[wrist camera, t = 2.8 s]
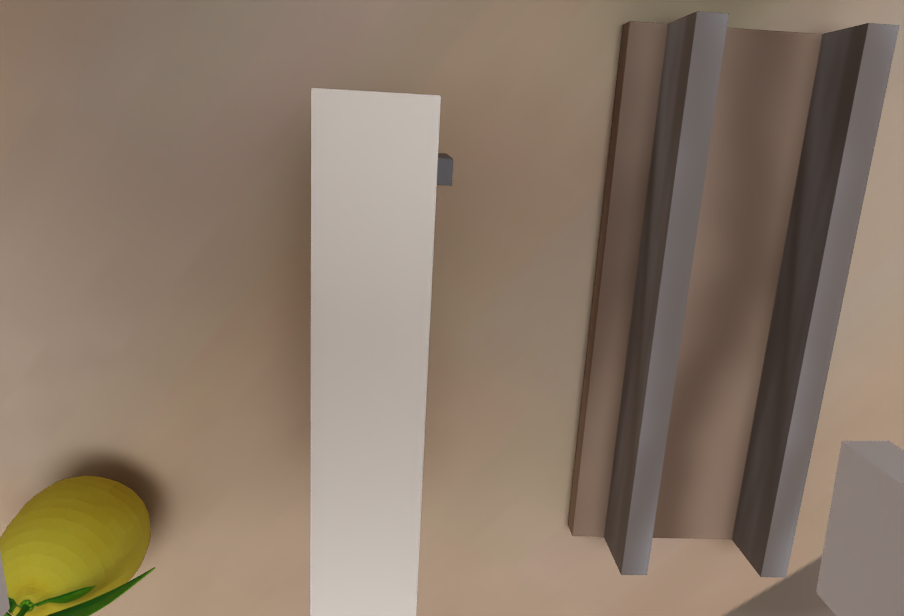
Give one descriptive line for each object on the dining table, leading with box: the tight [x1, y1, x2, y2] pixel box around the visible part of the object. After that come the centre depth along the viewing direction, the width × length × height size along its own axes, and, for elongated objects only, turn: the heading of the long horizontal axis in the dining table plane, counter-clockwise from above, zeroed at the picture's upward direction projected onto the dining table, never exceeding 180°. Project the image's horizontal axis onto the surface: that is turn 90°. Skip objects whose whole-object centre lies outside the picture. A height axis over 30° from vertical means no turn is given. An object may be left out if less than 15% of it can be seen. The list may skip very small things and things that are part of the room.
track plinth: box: [568, 11, 899, 577], centre depth 30 cm, size 11×24×4 cm, turn 177°
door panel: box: [310, 88, 453, 616], centre depth 25 cm, size 4×16×14 cm, turn 177°
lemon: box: [0, 476, 155, 616], centre depth 28 cm, size 7×6×10 cm
